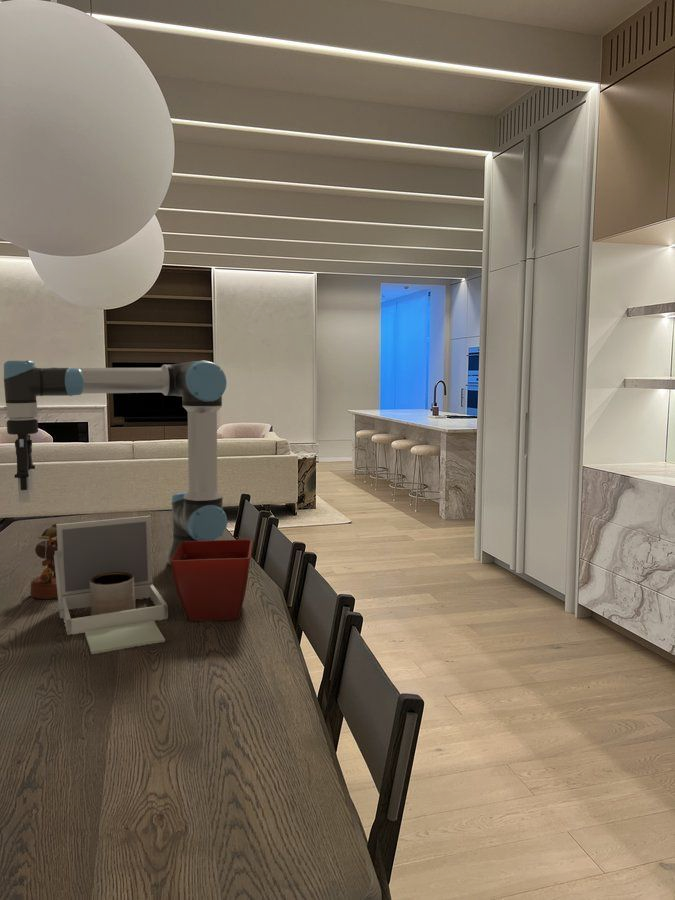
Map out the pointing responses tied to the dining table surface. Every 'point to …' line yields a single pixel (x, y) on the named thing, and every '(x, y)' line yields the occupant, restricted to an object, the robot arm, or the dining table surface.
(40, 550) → the music box
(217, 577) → the plant pot
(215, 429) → the robot arm
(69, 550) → the case
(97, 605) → the planter
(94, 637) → the mat
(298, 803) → the dining table surface
